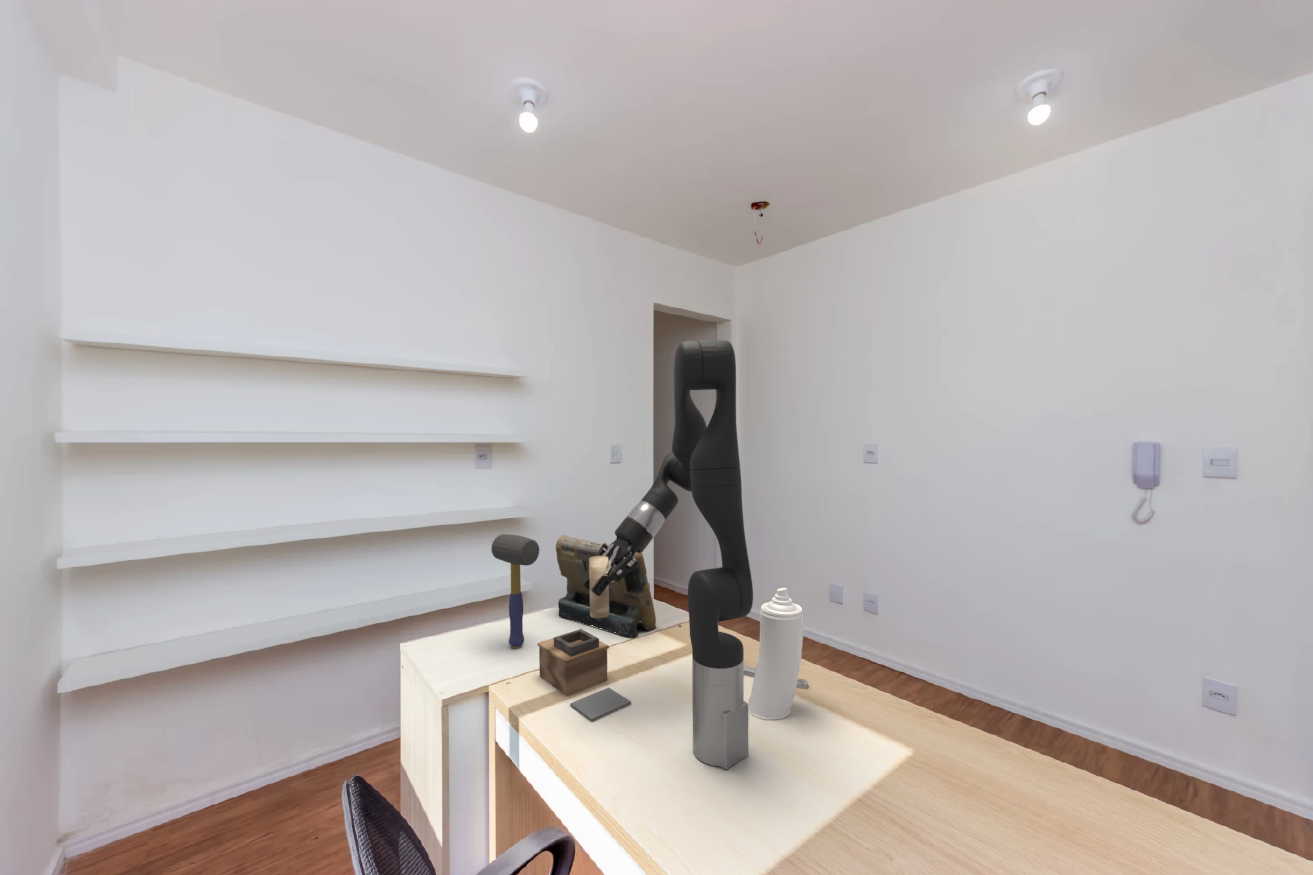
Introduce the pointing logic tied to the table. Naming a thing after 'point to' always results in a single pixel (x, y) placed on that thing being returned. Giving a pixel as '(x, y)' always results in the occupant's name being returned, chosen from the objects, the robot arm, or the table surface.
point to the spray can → (777, 658)
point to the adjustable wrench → (751, 672)
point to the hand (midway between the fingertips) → (590, 590)
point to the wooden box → (573, 661)
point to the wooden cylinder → (596, 570)
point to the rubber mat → (600, 704)
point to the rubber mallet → (515, 576)
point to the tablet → (625, 596)
